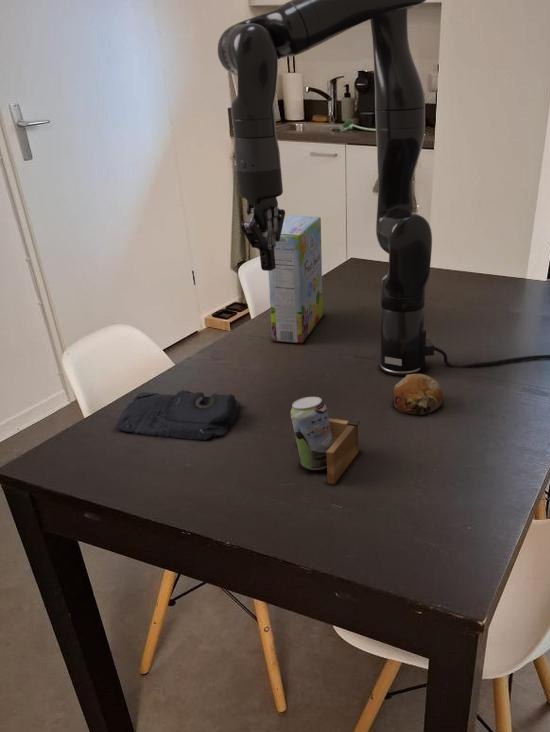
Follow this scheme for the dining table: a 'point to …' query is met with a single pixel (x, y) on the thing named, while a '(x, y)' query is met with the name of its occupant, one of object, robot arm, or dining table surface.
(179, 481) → the dining table surface
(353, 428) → the shelf corner
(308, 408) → the beverage can
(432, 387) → the bread roll
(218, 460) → the dining table surface
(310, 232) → the snack box
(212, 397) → the grommeted fabric pouch
